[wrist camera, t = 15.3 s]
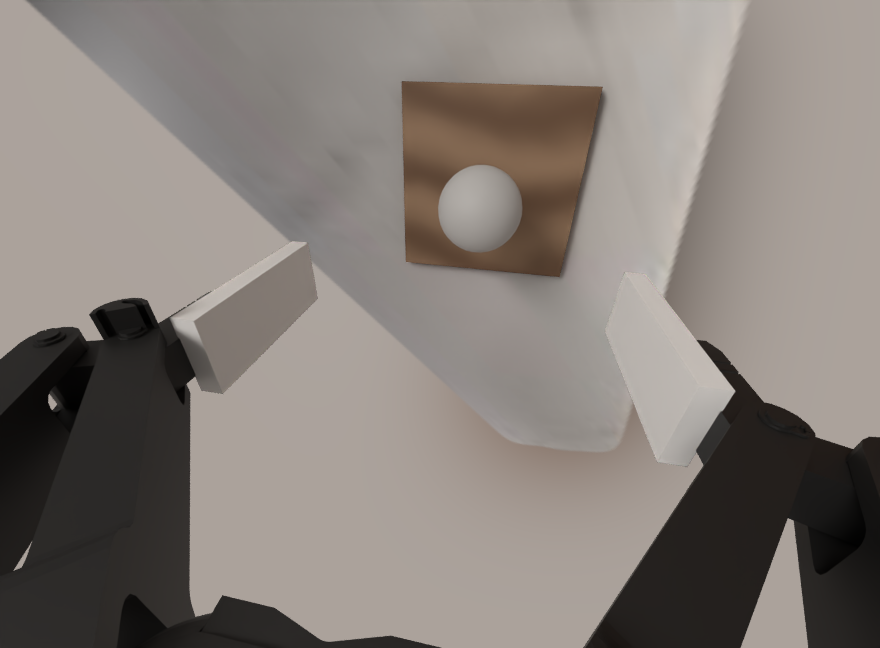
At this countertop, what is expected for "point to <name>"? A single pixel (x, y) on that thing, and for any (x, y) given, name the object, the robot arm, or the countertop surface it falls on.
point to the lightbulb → (480, 208)
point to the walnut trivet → (496, 165)
